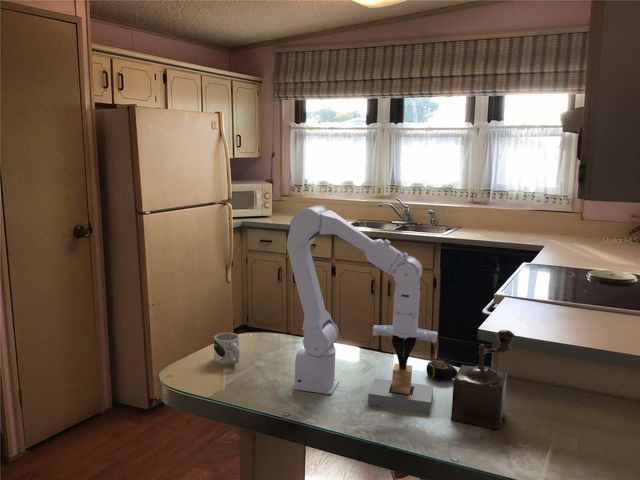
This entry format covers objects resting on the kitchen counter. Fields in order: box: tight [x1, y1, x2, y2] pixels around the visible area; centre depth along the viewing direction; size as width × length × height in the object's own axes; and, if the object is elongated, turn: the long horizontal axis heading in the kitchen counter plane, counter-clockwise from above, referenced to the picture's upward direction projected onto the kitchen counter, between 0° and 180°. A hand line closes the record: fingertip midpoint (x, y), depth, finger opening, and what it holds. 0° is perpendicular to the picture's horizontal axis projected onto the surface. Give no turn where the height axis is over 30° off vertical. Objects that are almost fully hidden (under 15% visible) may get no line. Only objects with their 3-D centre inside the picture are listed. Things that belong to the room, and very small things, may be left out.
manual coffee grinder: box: [450, 329, 516, 432], centre depth 123 cm, size 16×11×18 cm
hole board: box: [367, 377, 434, 414], centre depth 128 cm, size 14×9×2 cm, turn 75°
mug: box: [213, 332, 240, 366], centre depth 147 cm, size 10×7×7 cm
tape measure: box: [426, 359, 458, 381], centre depth 142 cm, size 7×7×4 cm
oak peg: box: [391, 363, 413, 396], centre depth 128 cm, size 4×4×8 cm
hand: (402, 367), depth 127 cm, fingers closed, pressing on oak peg
